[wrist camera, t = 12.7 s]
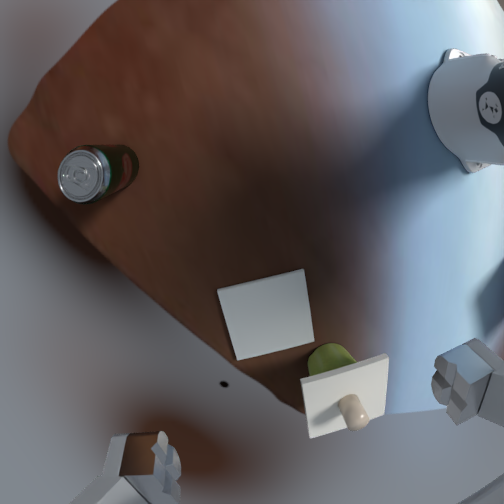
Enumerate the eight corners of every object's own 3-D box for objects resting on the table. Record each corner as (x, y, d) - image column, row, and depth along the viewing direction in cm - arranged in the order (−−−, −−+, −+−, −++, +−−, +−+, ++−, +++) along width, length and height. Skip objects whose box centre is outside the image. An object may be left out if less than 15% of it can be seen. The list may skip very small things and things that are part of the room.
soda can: (131, 193, 36) (97, 215, 24) (94, 180, 34) (47, 196, 23) (146, 152, 34) (115, 155, 23) (107, 139, 33) (63, 138, 22)
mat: (302, 268, 41) (304, 270, 40) (313, 339, 44) (314, 341, 44) (217, 289, 40) (217, 291, 40) (237, 357, 44) (237, 360, 43)
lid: (385, 353, 36) (403, 377, 32) (381, 409, 40) (395, 433, 35) (300, 379, 36) (310, 407, 31) (308, 433, 39) (317, 460, 35)
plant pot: (300, 389, 47) (314, 428, 39) (291, 343, 44) (306, 382, 36) (356, 372, 48) (377, 407, 39) (353, 325, 45) (378, 359, 36)
